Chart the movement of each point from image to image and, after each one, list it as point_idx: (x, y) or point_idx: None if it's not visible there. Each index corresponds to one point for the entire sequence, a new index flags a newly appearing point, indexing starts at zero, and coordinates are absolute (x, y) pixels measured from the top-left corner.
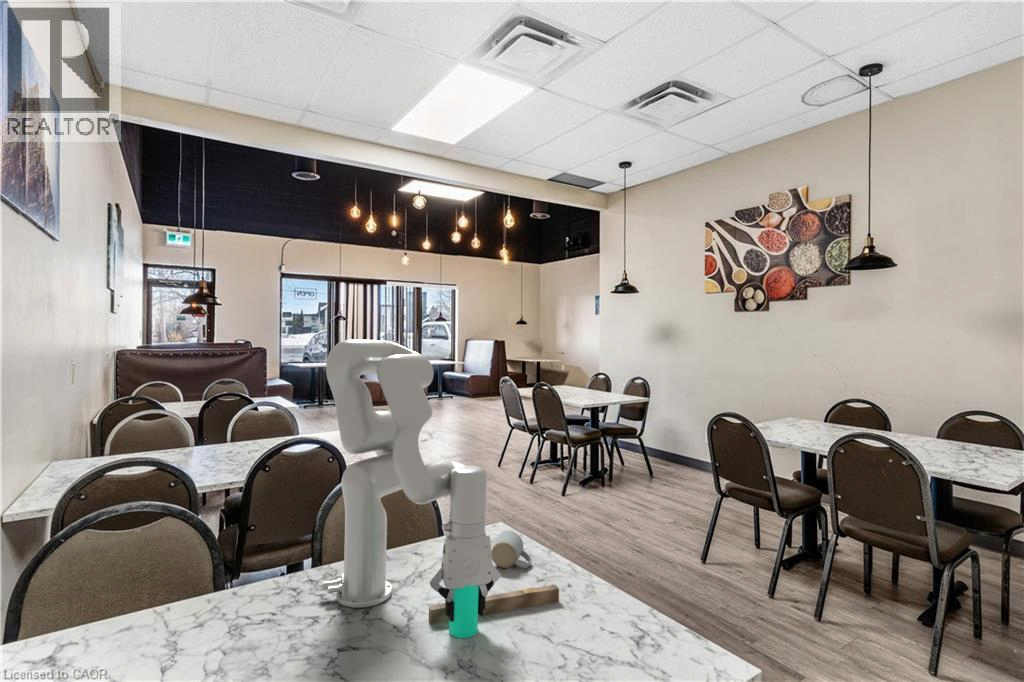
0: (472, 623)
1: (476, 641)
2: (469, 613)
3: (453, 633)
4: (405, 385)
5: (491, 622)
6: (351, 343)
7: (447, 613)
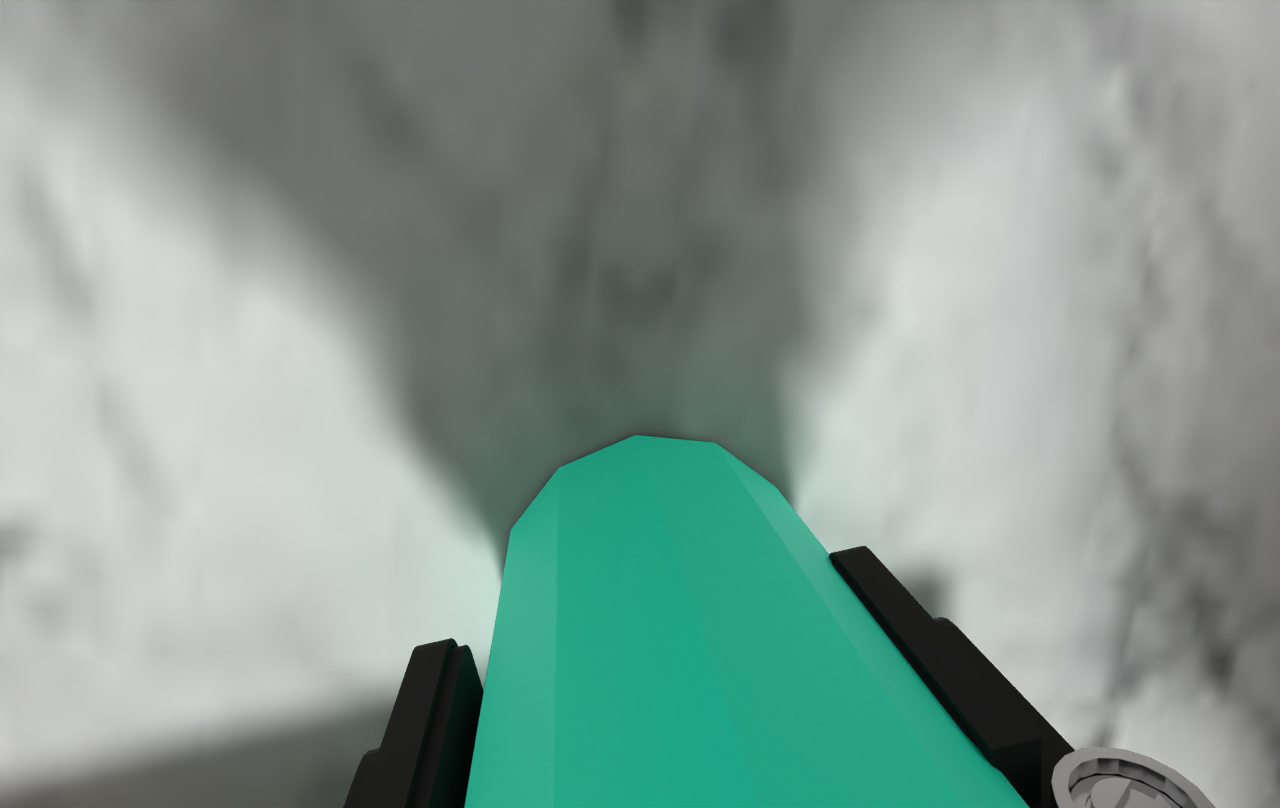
0: (575, 521)
1: (531, 368)
2: (638, 579)
3: (774, 488)
4: None
5: (348, 684)
6: None
7: (952, 631)
